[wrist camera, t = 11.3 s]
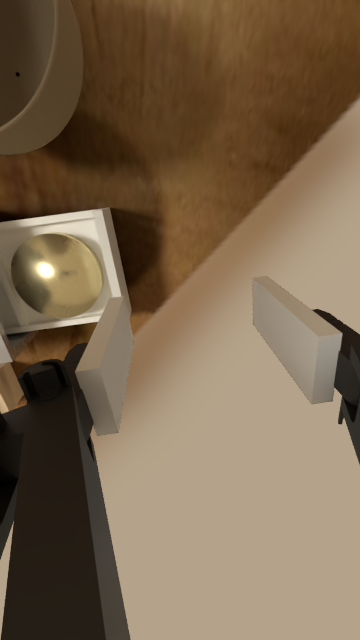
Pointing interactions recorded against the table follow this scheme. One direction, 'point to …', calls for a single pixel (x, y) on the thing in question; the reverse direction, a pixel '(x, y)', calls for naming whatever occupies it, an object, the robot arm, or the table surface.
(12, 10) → the bowl
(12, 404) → the oak block
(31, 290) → the gold disc
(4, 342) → the housing
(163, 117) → the table surface
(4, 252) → the tray
